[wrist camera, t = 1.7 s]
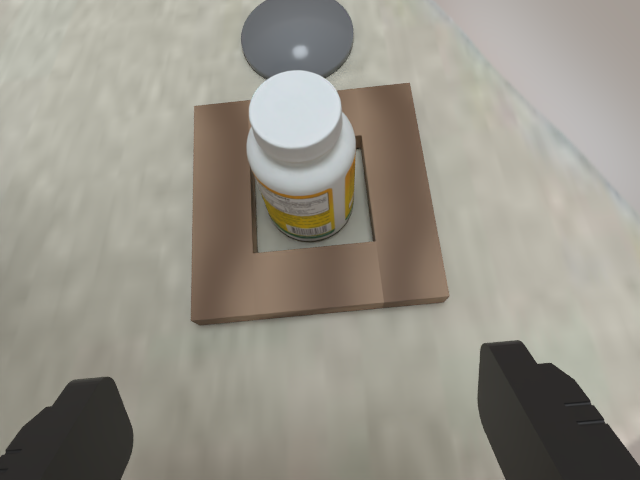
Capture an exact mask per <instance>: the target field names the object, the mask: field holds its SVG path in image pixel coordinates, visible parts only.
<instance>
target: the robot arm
mask: <svg viewBox="0 0 640 480" xmlns="http://www.w3.org/2000/svg"><path fill="white" fill-rule="evenodd" d="M478 409H479V414H480V419H481V422H482V425H483V428H484V431H485V433H486V435H487V438H488V440H489V442H490V445H491V447H492V449H493V452H494V454H495V456H496V458H497V461H498V463H499V465H500V468H501V470H502V472H503V475H504V477H505V479H506V480H640V466H639V465H638V463H637V462H636V461H635V459H634V458H633V457H632V456H631V454H630V453H629V451H628V450H627V449H626V447H625V446H624V445H623V443H622V442H621V441H620V439H619V438H618V437H617V435H616V434H615V433H614V431H613V430H612V429H611V428H610V426H609V425H608V424H605V422H604V418H603V417H602V416H601V414H600V413H599V412H598V410H597V409H596V408H595V406H594V405H591V402H590V400H589V398H588V397H587V396H586V394H585V393H584V392H583V390H582V389H581V388H580V386H579V385H578V384H577V382H576V381H575V380H574V379H573V378H571V377H570V376H569V375H567V374H566V373H564V372H563V371H562V370H560V369H559V368H557V367H556V366H555V365H553V364H552V363H543V364H537V363H536V361H535V360H534V358H533V357H532V355H531V354H530V352H529V351H528V350H527V348H526V347H525V345H524V344H523V343H522V342H521V341H519V340H515V341H504V342H493V343H484V344H482V346H481V349H480V364H479V381H478ZM132 448H133V429H132V426H131V423H130V420H129V418H128V415H127V412H126V410H125V407H124V405H123V402H122V399H121V397H120V394H119V391H118V389H117V386H116V384H115V382H114V380H113V379H112V378H110V377H99V378H88V379H77V380H73V381H71V382H69V383H68V384H67V386H66V387H65V388H64V390H63V391H62V393H61V394H60V396H59V397H58V398H57V400H56V401H55V403H54V404H53V406H51V407H46V408H44V409H43V410H42V411H41V412H40V413H39V414H37V415H36V416H35V417H34V418H33V419H32V420H30V421H29V422H28V423H27V424H26V425H25V426H23V427H22V429H21V430H20V431H19V433H18V434H17V435H16V437H15V438H14V439H13V441H12V442H11V444H10V445H9V446H8V448H7V449H6V453H5V455H2V456H1V457H0V480H121V477H122V475H123V473H124V470H125V468H126V466H127V464H128V461H129V459H130V456H131V453H132Z"/></svg>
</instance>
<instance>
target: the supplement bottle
mask: <svg viewBox="0 0 640 480" xmlns="http://www.w3.org/2000/svg"><path fill="white" fill-rule="evenodd" d="M249 120H250V123H251V128H250V131H249V134H248V138H247V157H248V161H249V164H250V167H251V170H252V172H253V175H254V177H255V180H256V182H257V185H258V187H259V189H260V192H261V194H262V197H263V199H264V202H265V204H266V207H267V210H268V212H269V215H270V217H271V219H272V221H273V222H274V224H275V225H276V226H277V227H278V228H279V229H280V230H281V231H282V232H283V233H285V234H286V235H288V236H290V237H292V238H295V239H298V240H303V241H316V240H321V239H325V238H327V237H329V236H331V235H333V234H335V233H336V232H337V231H339V230H340V229H341V228H342V227H343V226H344V225H345V223H346V222H347V220H348V219H349V217H350V215H351V212H352V208H353V200H354V177H355V155H356V140H355V134H354V130H353V128H352V125H351V123H350V121H349V120H348V118H347V117H346V115H345V114H344V113H343V112H342V107H341V100H340V97H339V95H338V93H337V91H336V89H335V88H334V86H333V85H332V84H331V83H330V82H329V81H328V80H326V79H325V78H323V77H322V76H320V75H318V74H315V73H312V72H308V71H303V70H293V71H286V72H282V73H279V74H276V75H274V76H272V77H270V78H269V79H267V80H266V81H265V82H263V83H262V84H261V85H260V86H259V87H258V89H257V90H256V91H255V93H254V94H253V96H252V99H251V102H250V105H249Z"/></svg>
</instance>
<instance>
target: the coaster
mask: <svg viewBox="0 0 640 480" xmlns="http://www.w3.org/2000/svg"><path fill="white" fill-rule="evenodd" d="M241 43H242V48H243V51H244V54H245V57H246V60H247V62H248V63H249V65H250V66H251V67H252V68H253V70H254V71H255V72H257V73H258V74H259V75H260V76H262V77H264V78H266V79H269V78H270V77H272V76H274V75H276V74H279V73H282V72H286V71H293V70H303V71H308V72H312V73H315V74H318V75H320V76H322V77H323V78H325V77H327V76H329V75H331V74H332V73H334V72H335V71H336V70H337V69H338V68H340V67H341V66H342V64H343V63H344V62H345V61H346V59H347V58H348V56H349V54H350V52H351V49H352V45H353V25H352V21H351V18H350V16H349V14H348V13H347V11H346V10H345V9H344V7H343V6H342V5H340V4H339V3H338V2H337V1H335V0H266V1H264V2H263V3H261V4H260V5H259V6H257V7H256V8H255V9H254V10H253V11H252V12H251V14H250V15H249V16H248V18H247V19H246V21H245V23H244V26H243V29H242V33H241Z"/></svg>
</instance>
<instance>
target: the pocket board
mask: <svg viewBox="0 0 640 480" xmlns="http://www.w3.org/2000/svg"><path fill="white" fill-rule="evenodd" d="M337 93H338V95H339V97H340V100H341V107H342V112H343V113H344V114H345V115H346V117H347V118H348V120H349V121H350V123H351V125H352V128H353V130H354V134H355V140H356V149H357V148H361V152H362V160H363V167H364V175H365V182H366V190H367V197H368V205H369V213H370V220H371V228H372V235H373V242H364V243H354V244H344V245H333V246H323V247H313V248H303V249H293V250H283V251H273V252H263V253H257V226H256V199H255V177H254V175H253V172H252V170H251V167H250V164H249V161H248V157H247V138H248V134H249V131H250V128H251V123H250V120H249V105H250V102H251V100H246V101H237V102H228V103H219V104H209V105H200V106H194V163H193V224H192V286H191V321H192V322H194V323H196V324H198V325H207V324H217V323H228V322H239V321H249V320H260V319H270V318H281V317H292V316H302V315H313V314H323V313H334V312H345V311H355V310H366V309H376V308H387V307H397V306H408V305H419V304H429V303H440V302H444V301H445V300H446V299H447V298H448V297H449V291H448V286H447V280H446V275H445V270H444V264H443V259H442V253H441V248H440V243H439V237H438V232H437V227H436V221H435V216H434V210H433V205H432V200H431V194H430V189H429V184H428V178H427V173H426V167H425V162H424V157H423V151H422V146H421V141H420V135H419V130H418V124H417V119H416V114H415V108H414V103H413V98H412V92H411V87H410V83H403V84H394V85H384V86H375V87H366V88H357V89H348V90H338V91H337Z"/></svg>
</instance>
